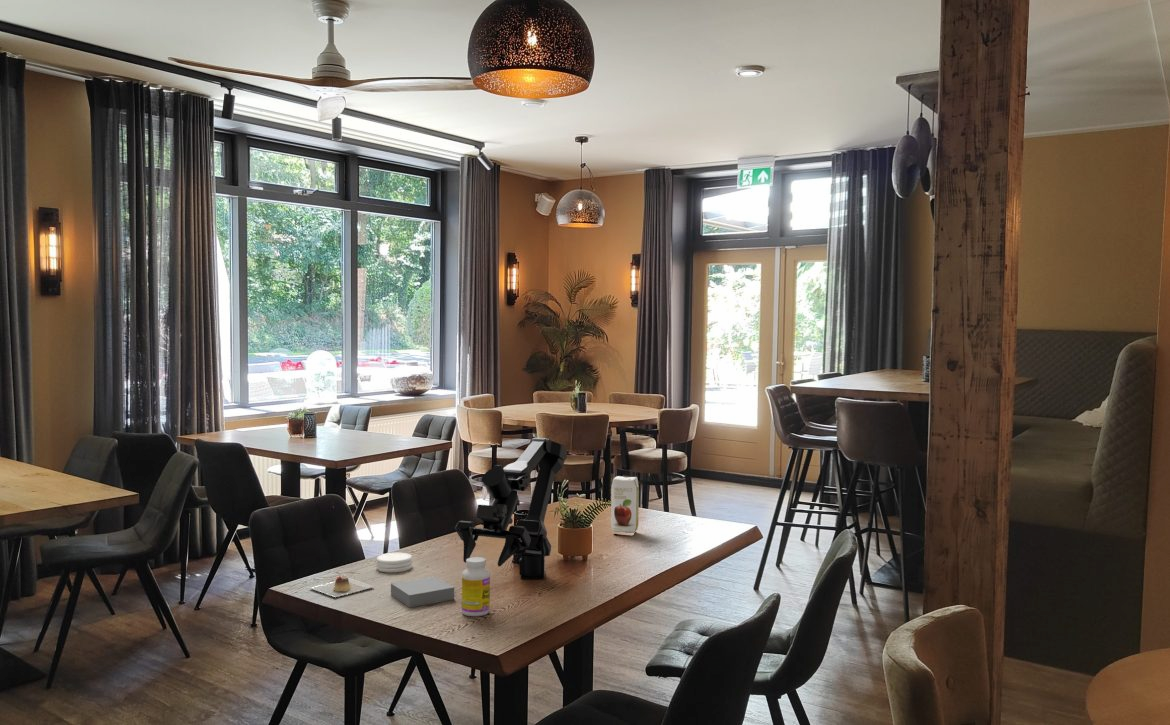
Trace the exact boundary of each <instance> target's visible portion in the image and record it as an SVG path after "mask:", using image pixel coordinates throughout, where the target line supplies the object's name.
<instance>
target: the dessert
mask: <svg viewBox="0 0 1170 725" xmlns="http://www.w3.org/2000/svg"><path fill="white" fill-rule="evenodd" d="M351 584H353V585H356V586H358V587H361V586H362V589H359V590H355V591H351V590H352V588H351ZM332 585H333V590H335V591H334V592H336V591H344V592H347V593H343V594H339V595H336V596H335V595H332V594H329V593H328V592H324V591H322V590H320V589H323V588H322V587H324V588H327V587H326V586H328V587H331V586H332ZM364 587H365V588H364ZM317 588H320V589H317ZM373 588H375V585H372V584H368V583H366V582H362V581H359V580H356V579H353V578H350V577H347V575H346V574H345V573H342V574H341V575H340V574H339V575H338V576H337V577H336V579H335V580H334V581H331V582H326V583H322V584H319V585H315V586H312V587H311V586H310V587H309V589H310V590H312V591H315V592H318V593H320V592H321V594H323V593H324V594H323V595H326V596H329V597H331V596H332V598H334V597H335V599H337V598H336V597H338V598H341V597H340V596H342V597H345V596H349V595H353V594H356V592H357V593H360V591H361V592H364V591H368V590H371V589H373ZM350 589H351V590H350ZM367 589H368V590H367ZM333 590H332V591H333ZM347 590H349V592H348V591H347ZM363 590H364V591H363ZM350 591H351V592H350ZM352 593H353V594H352ZM348 594H349V595H348ZM344 595H345V596H344Z"/></svg>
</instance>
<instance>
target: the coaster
mask: <svg viewBox="0 0 1170 725" xmlns="http://www.w3.org/2000/svg"><path fill="white" fill-rule="evenodd" d="M375 561H376V570H377V571H378V572H382V573H389V574H391V573H392V574H393V573H402V572H406V571H409V570H411V568H413V555H411V554H410V553H407V552H387V553H383V554H380V555H378V556H377V557H376V560H375Z"/></svg>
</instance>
